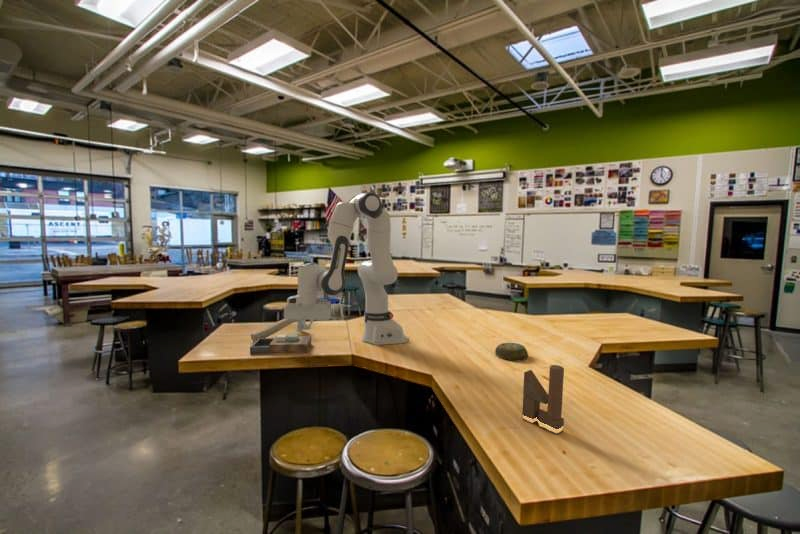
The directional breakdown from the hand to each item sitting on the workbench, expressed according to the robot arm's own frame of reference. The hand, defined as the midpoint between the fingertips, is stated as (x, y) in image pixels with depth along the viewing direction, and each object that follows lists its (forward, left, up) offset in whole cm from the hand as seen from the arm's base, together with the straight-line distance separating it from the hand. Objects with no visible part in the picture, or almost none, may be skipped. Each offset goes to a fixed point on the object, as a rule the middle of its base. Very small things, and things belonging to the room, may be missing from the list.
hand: (307, 329), depth 169 cm
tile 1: (+11, 0, -5) cm, 12 cm away
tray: (+19, 0, -9) cm, 21 cm away
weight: (-90, +14, -10) cm, 91 cm away
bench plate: (+7, 0, -9) cm, 12 cm away
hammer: (+17, -20, -9) cm, 28 cm away
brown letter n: (-77, +71, -9) cm, 105 cm away
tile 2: (+6, 0, -5) cm, 8 cm away
